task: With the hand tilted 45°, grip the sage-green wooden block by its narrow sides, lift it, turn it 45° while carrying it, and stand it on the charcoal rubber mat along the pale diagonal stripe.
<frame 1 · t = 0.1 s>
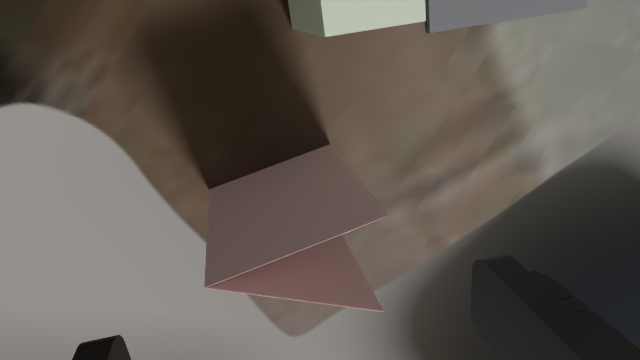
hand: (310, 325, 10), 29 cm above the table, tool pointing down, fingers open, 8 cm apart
greeting card: (279, 172, 40), on the table
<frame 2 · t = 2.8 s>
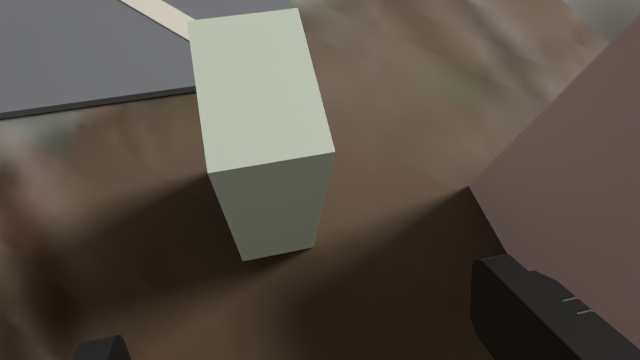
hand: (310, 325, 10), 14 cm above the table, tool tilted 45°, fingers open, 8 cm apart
sage block: (269, 204, 26), on the table
greeting card: (524, 257, 26), on the table
mat: (143, 7, 31), on the table
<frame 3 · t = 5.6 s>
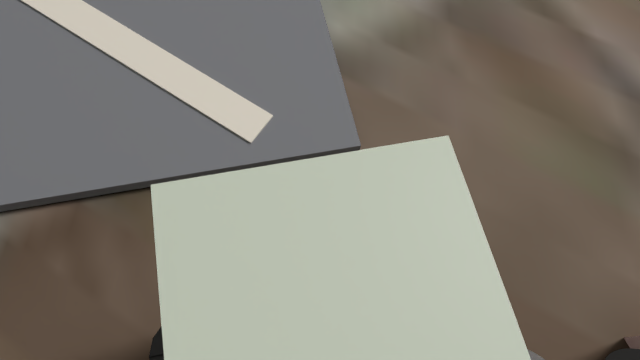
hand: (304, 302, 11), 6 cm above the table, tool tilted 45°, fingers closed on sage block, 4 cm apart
mat: (114, 45, 21), on the table
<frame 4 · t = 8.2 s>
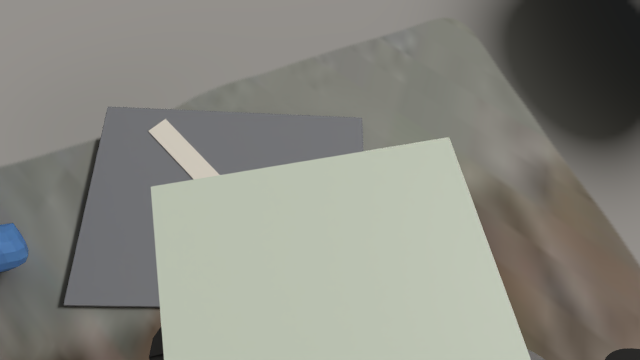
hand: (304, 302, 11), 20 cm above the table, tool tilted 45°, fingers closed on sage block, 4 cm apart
mat: (230, 203, 33), on the table
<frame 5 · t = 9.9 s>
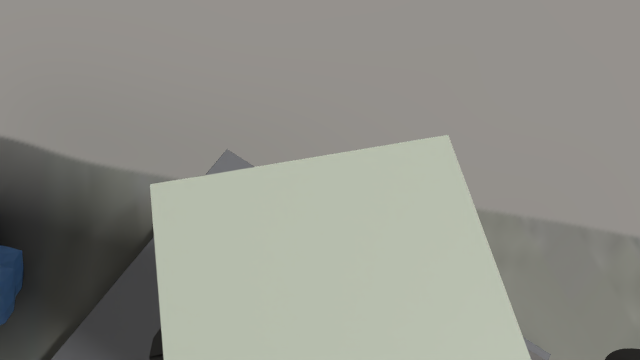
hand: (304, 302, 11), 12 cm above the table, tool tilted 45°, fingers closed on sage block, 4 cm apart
when the fingers open (8 cm above the table, at t = 11.2 s): sage block stays where it is, resting on mat.
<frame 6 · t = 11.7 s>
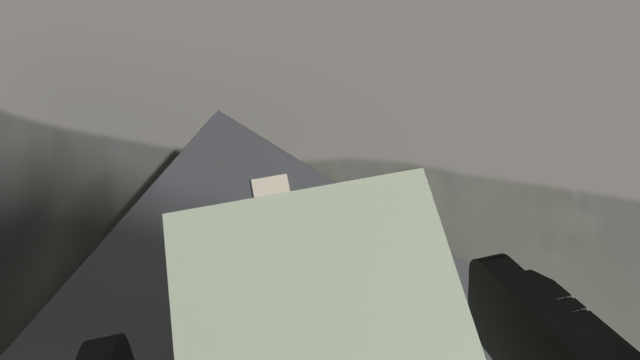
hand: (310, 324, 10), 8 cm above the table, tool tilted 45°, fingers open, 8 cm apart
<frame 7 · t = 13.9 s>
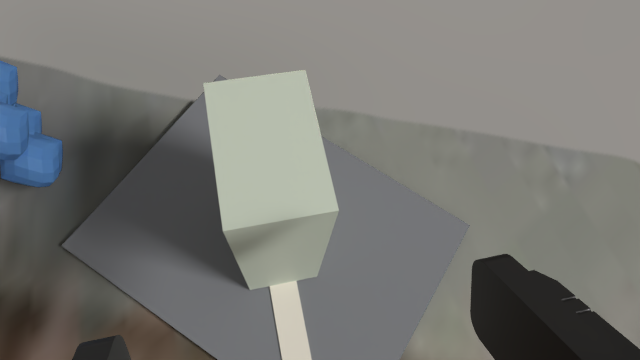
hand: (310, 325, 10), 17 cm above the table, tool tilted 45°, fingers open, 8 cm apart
sage block: (275, 234, 27), point 1 cm above the table, touching mat
grapes: (19, 150, 29), on the table
mat: (274, 237, 28), on the table
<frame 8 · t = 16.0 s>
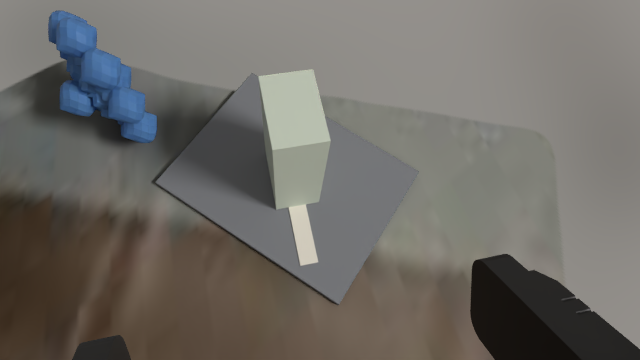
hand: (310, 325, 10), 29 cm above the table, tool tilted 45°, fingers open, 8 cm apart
sage block: (291, 176, 42), point 1 cm above the table, touching mat
grapes: (120, 123, 44), on the table
mat: (290, 179, 43), on the table
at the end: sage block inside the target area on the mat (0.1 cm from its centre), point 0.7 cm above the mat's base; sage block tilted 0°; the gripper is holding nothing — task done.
